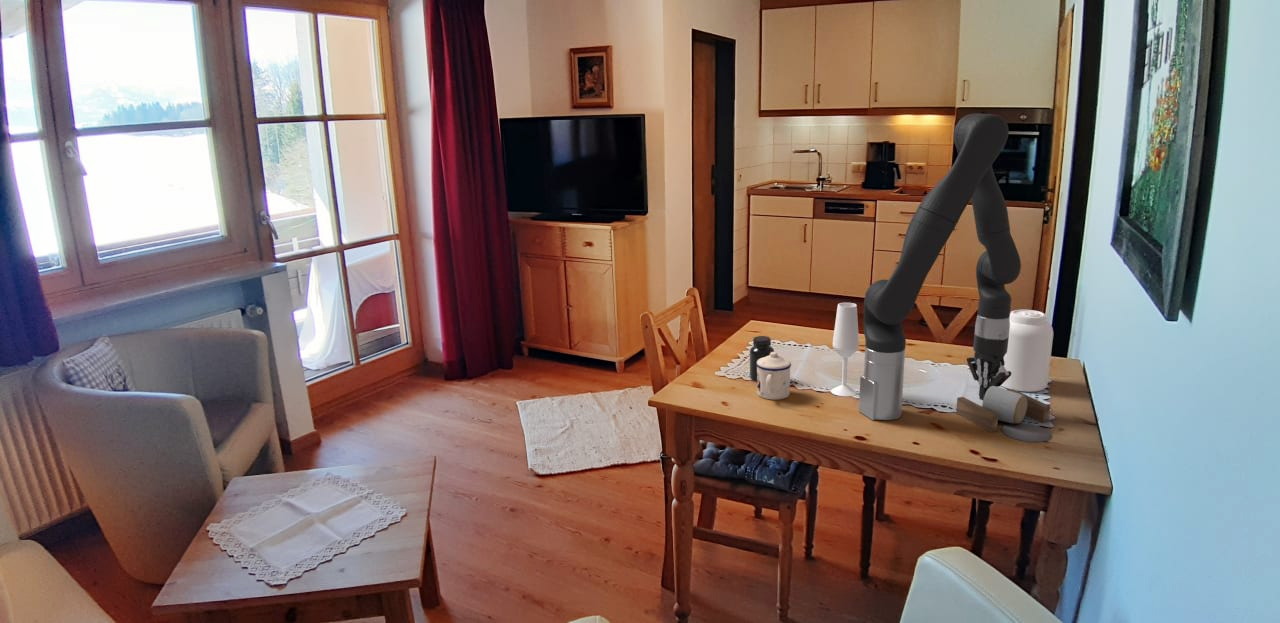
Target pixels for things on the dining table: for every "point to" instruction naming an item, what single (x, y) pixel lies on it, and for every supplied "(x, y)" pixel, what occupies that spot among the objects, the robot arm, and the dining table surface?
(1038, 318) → the white lidded jar
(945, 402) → the dining table surface
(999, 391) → the grey cylinder
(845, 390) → the champagne flute
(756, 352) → the supplement bottle
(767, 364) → the teacup with lid
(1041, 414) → the holder
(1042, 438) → the dark mat
